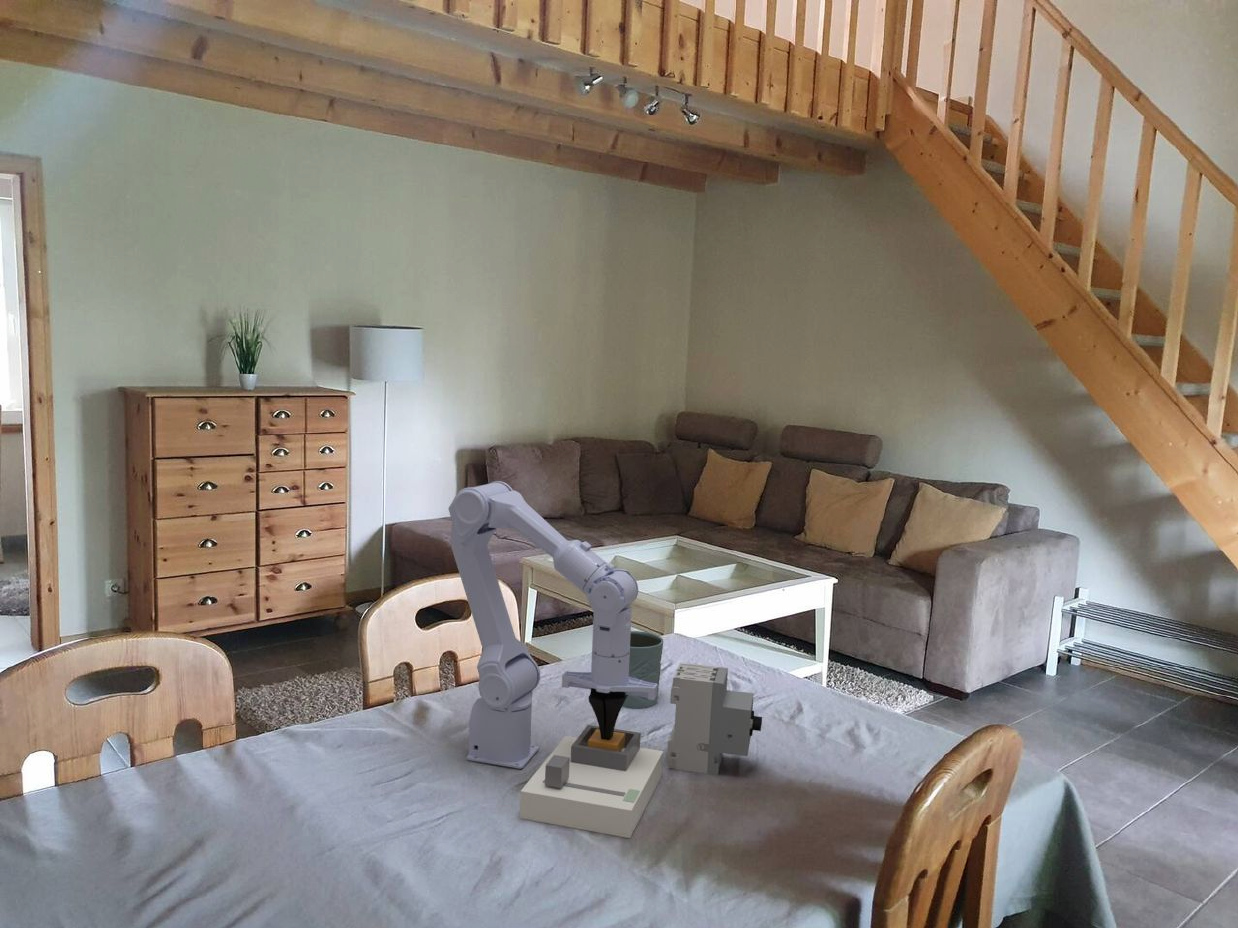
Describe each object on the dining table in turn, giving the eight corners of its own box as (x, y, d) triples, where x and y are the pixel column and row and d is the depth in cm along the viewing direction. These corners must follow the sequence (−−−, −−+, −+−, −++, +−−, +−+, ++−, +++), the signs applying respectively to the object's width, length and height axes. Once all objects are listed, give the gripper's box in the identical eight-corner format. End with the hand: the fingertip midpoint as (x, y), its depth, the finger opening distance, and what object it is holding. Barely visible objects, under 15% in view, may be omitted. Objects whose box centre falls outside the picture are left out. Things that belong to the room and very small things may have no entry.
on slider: (544, 785, 135) (545, 765, 134) (553, 774, 138) (554, 754, 138) (560, 788, 134) (561, 767, 134) (568, 777, 138) (569, 757, 137)
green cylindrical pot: (660, 711, 175) (664, 648, 173) (605, 708, 175) (608, 645, 173) (659, 691, 185) (662, 631, 183) (607, 688, 185) (609, 628, 183)
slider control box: (519, 817, 134) (521, 773, 133) (564, 759, 153) (566, 720, 152) (630, 838, 130) (632, 792, 129) (661, 775, 149) (664, 735, 148)
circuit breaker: (756, 780, 149) (763, 688, 147) (666, 768, 152) (671, 677, 150) (759, 760, 156) (765, 672, 154) (673, 749, 159) (678, 662, 157)
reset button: (587, 753, 145) (588, 740, 144) (596, 741, 149) (596, 728, 149) (616, 757, 143) (617, 745, 143) (624, 745, 148) (625, 733, 148)
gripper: (556, 653, 142) (553, 740, 144) (651, 665, 138) (647, 754, 140) (571, 639, 149) (568, 722, 151) (662, 651, 145) (657, 736, 147)
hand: (606, 737), depth 146 cm, fingers closed, pressing on reset button
